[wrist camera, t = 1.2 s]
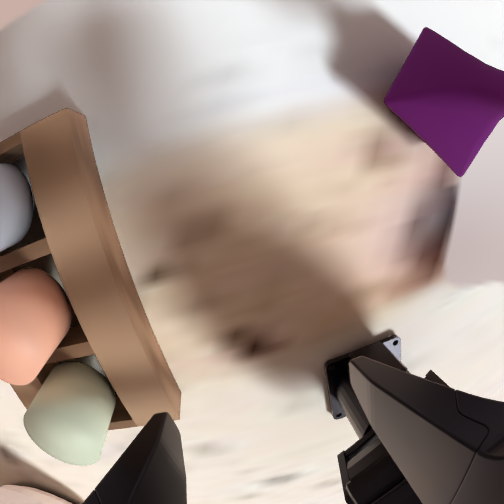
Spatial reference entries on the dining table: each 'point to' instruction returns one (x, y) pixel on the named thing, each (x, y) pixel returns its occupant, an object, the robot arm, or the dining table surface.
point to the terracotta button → (30, 323)
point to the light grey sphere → (14, 205)
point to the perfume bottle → (448, 99)
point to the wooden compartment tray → (88, 271)
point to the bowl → (27, 496)
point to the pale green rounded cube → (71, 413)
